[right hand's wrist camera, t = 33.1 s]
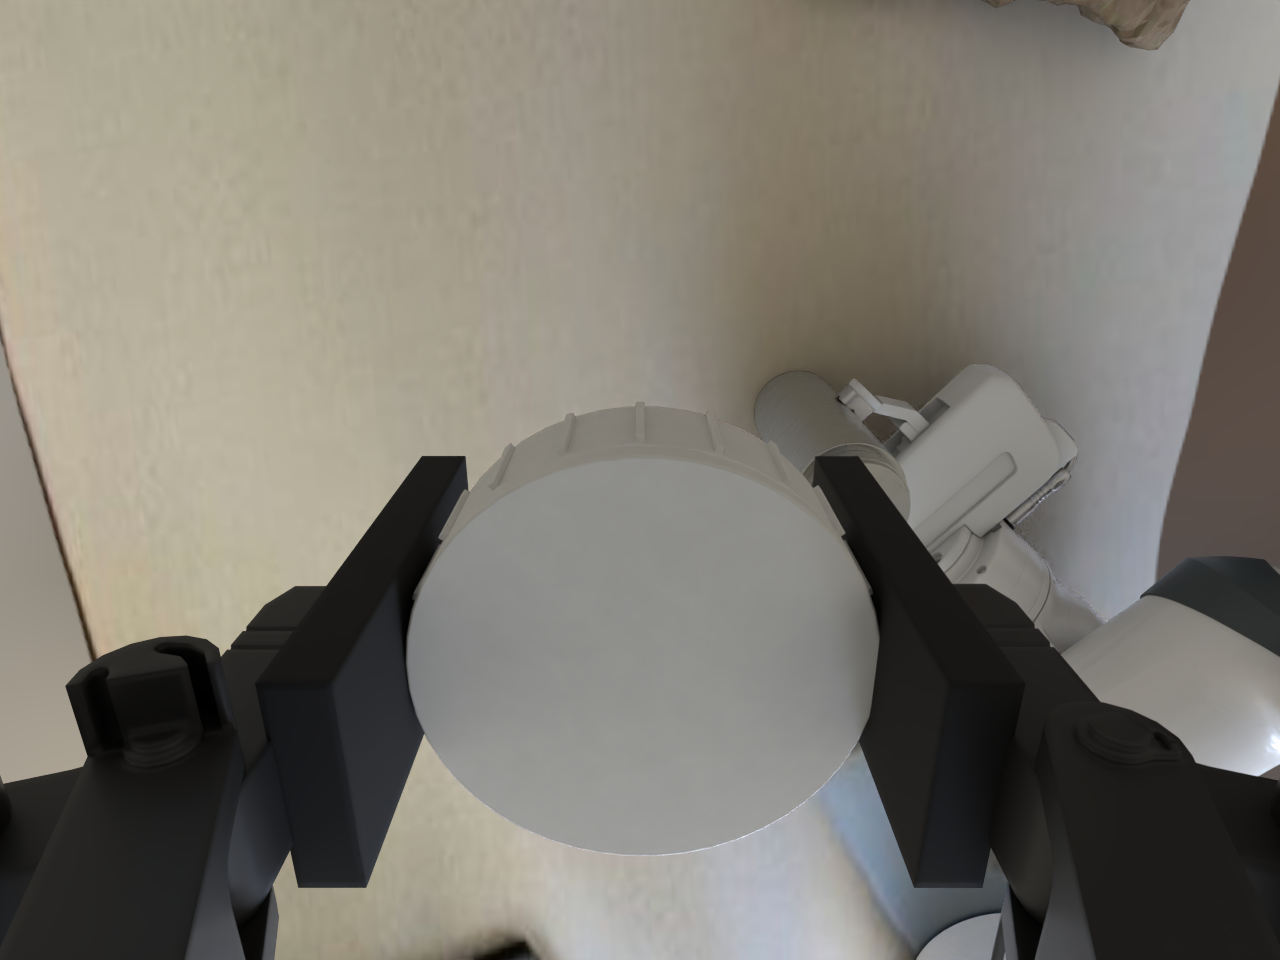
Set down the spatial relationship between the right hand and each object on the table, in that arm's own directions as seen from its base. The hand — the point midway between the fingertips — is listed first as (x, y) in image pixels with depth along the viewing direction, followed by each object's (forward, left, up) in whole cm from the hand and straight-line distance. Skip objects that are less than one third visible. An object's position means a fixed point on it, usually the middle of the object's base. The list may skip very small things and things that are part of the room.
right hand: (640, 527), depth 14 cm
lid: (0, 0, +4) cm, 4 cm away
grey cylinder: (+7, +11, -38) cm, 40 cm away
